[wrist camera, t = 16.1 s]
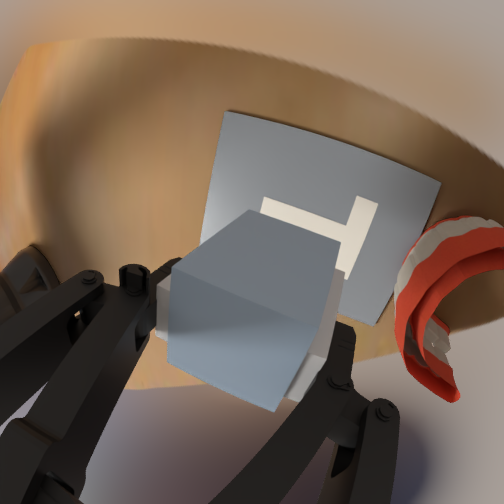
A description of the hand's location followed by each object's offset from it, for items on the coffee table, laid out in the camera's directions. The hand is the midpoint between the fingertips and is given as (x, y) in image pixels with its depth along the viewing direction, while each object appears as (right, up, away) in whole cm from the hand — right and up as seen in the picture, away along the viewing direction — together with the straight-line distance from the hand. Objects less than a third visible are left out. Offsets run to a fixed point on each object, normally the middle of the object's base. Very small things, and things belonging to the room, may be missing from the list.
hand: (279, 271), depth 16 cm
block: (0, 0, 0) cm, 0 cm away
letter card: (+3, +4, +8) cm, 9 cm away
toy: (+15, 0, +5) cm, 15 cm away
